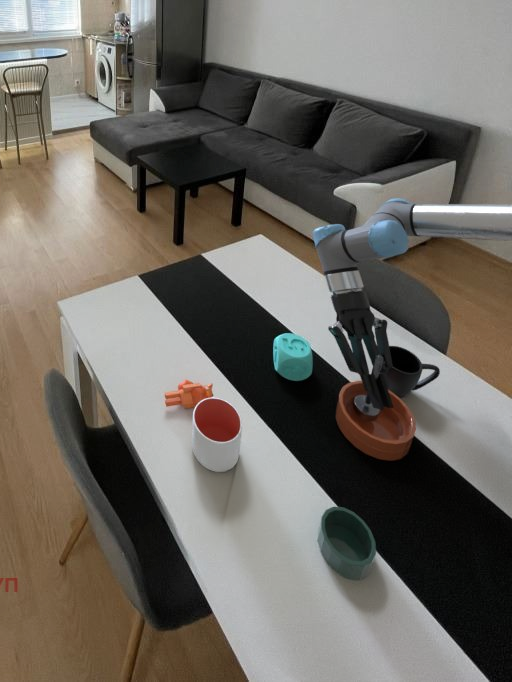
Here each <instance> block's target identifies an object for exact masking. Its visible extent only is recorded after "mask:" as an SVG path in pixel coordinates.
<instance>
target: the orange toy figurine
mask: <svg viewBox="0 0 512 682" xmlns="http://www.w3.org/2000/svg"><path fill="white" fill-rule="evenodd" d="M212 389H213V383H212V382H211V383H209V384H207V385H203V384H202V383H201V382H192V381H191V380H188V379H183V380H182V381H181V382H179V384H178V385H177V390H174V391H173V390H172V391H166V392H164V398H165V400H164V404H165V407H166V408H168V407H174V406H181V407H184V409H191V408H195V407H196V405H197V404H198V403H199V402H200V401H202V400H204V399H207V398H214V393H213V390H212Z"/></svg>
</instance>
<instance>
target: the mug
mask: <svg viewBox="0 0 512 682" xmlns="http://www.w3.org/2000/svg"><path fill="white" fill-rule="evenodd" d="M389 348H390V353H391V359H392V364H393V367H392V368H389V369H388V372H387V373H386V375H387V378H388V381H389V384H390V389H388V390H389V391H391V392H393V393H394V394H395V395H396V396H398V397H399V398H400V399H404V398H406V397H407V395H409V394H411V392H412V391H417V390H420V389H422V388H423V387H425V386H427V385H428V384H430V383H432V382H434V380H436V379H438V378H439V376H440V374H441V370H440V368H439V366H438V365H435V364H431V363H422V361H421V360H420V358H419V357H418V356H417V355H416V354H415V353H413V352H412V351H411V350H408V349H406V348H405V347H401V346H398V345H389ZM423 370H431V371H433V372H432V373H430V374H429V375H428V376H427V377H425V378H423V379H422V380H420V379H421V376H422V373H423Z"/></svg>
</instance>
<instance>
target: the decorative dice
mask: <svg viewBox="0 0 512 682" xmlns="http://www.w3.org/2000/svg"><path fill="white" fill-rule="evenodd" d="M272 346H273V347H272V350H273V351H272V355H273V357H272V358H273V364H274V365H273V366H274V370H275V371H276V372H277V374H279V375H280V376H281V377H283V378H285V379H286V380H289V381H294V382H299V381H300V382H301V381H304V380H306V379H308V378H309V377H310V376H312V374H313V365H314V363H313V360H314V359H313V352H312V351H313V350H312V346H311V344H310V343H309V342H308V340H307V339H305V338H304V337H302V336H300V335H298V334H296V333H292V332H287V333H282V334H280V335H278V336H276V337H275V338H274V340H273V345H272Z"/></svg>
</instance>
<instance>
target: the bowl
mask: <svg viewBox="0 0 512 682" xmlns="http://www.w3.org/2000/svg"><path fill="white" fill-rule="evenodd" d="M388 392H389V395H390V398H391V401H392V404H393V407H394V408H387V407H384V409H383V410H380V412H379V415H378V418H377V420H375V421H366V420H364V419H362V418H360V417H359V416H358V415H357V414H356V413H355V411H354V409H353V403H354V399H355V397H356V396H358V395H366V391H365V389H364V387H363V383H362V380H356V381H351V382H350V381H349V382H348V383H346V384H345V385H343V386H342V388H341V389H340V391H339V393H338V398H337V402H336V407H335V420H336V423H337V426H338V428H339V430H340V431H341V433H342V434H343V437H345V438H346V439H347V441H349V442H350V443H351V444H352V445H353V446H354V448H356V449H357V450H359V451H361V452H362V453H364V454H365V455H367V456H370V457H372V458H375V459H377V460H380V461H381V460H382V461H390V462H391V461H392V462H393V461H398V460H401V459H403V458H404V457H405V456H406V455H408V454H409V451H410V448H411V446H412V443H413V440H414V437H415V434H416V431H417V425H416V419H415V417H414V414H413V413H412V411H411V409H410V408H409V407H408V405H407V404H406V403H405V402H404V401H403V399H402V398H399V397H398V396H396V395H395V394H394V393H393V392H391V391H389V390H388Z"/></svg>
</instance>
